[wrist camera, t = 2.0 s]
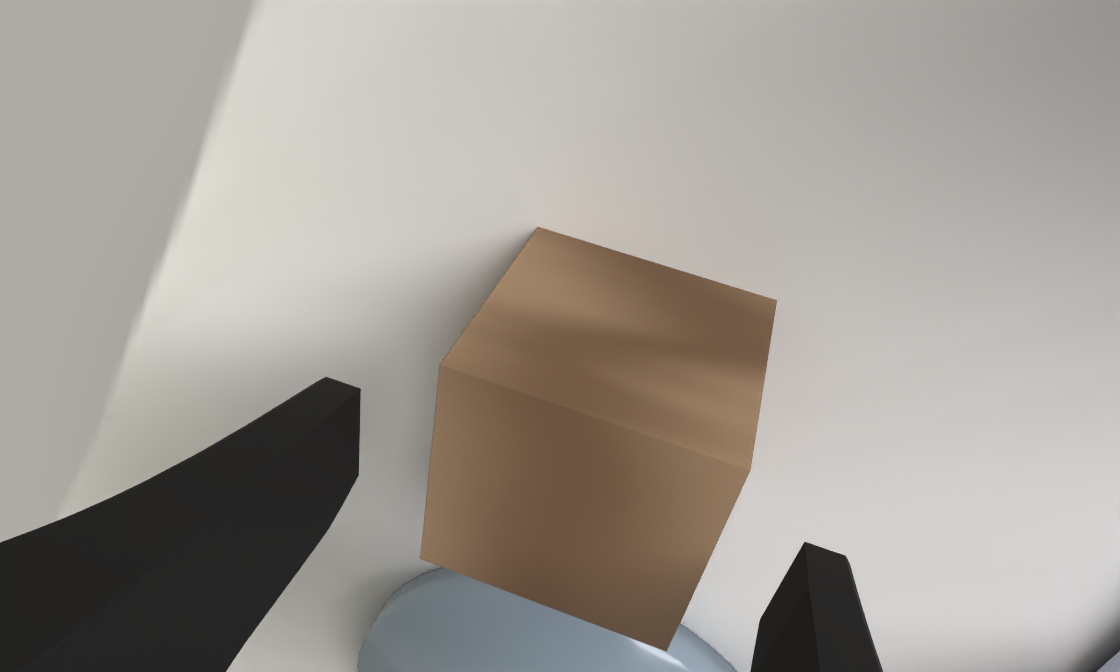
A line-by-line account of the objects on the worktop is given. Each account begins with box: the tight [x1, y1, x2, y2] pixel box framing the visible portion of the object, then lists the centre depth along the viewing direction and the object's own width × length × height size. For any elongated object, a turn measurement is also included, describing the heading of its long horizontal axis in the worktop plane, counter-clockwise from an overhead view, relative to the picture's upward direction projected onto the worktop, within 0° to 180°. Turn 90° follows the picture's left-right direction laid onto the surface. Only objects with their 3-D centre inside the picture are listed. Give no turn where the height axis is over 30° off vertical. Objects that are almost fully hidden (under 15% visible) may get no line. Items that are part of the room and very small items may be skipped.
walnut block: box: [420, 227, 777, 652], centre depth 14 cm, size 4×4×4 cm
